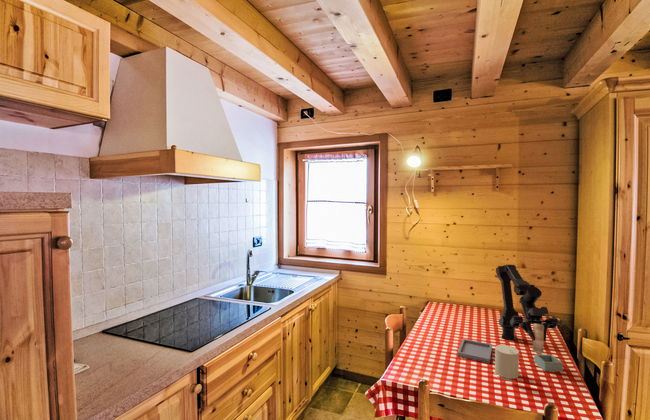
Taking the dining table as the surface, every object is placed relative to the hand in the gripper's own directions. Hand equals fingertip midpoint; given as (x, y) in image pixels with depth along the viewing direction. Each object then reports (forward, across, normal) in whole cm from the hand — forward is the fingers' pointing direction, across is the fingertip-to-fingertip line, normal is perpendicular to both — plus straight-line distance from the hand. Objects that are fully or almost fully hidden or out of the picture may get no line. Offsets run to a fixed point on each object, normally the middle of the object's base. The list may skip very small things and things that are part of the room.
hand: (539, 340), depth 147 cm
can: (+14, -16, +5) cm, 22 cm away
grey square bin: (+8, +4, +11) cm, 14 cm away
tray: (0, -23, +20) cm, 30 cm away
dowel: (+3, 0, +5) cm, 6 cm away
